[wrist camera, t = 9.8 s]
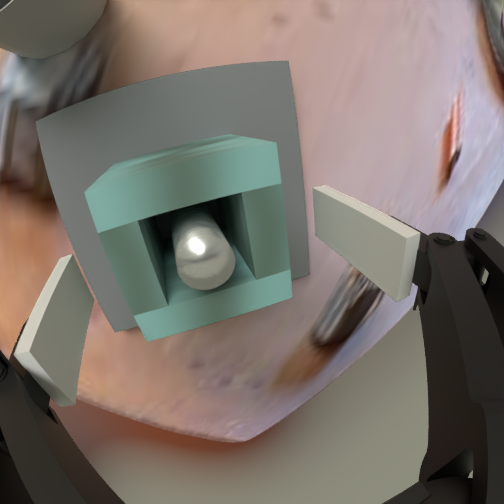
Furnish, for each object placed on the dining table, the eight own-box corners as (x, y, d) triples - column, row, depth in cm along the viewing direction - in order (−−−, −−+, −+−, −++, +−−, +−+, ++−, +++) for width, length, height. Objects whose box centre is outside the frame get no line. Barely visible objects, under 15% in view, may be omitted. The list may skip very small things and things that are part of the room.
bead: (230, 134, 18) (276, 142, 11) (248, 239, 22) (292, 297, 15) (114, 164, 16) (84, 192, 9) (146, 267, 20) (146, 341, 13)
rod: (198, 183, 19) (229, 230, 11) (205, 215, 20) (239, 280, 12) (164, 192, 18) (169, 246, 10) (172, 224, 19) (186, 296, 12)
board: (279, 64, 18) (288, 60, 16) (302, 266, 26) (309, 274, 25) (43, 121, 14) (35, 121, 13) (116, 321, 23) (114, 332, 22)
